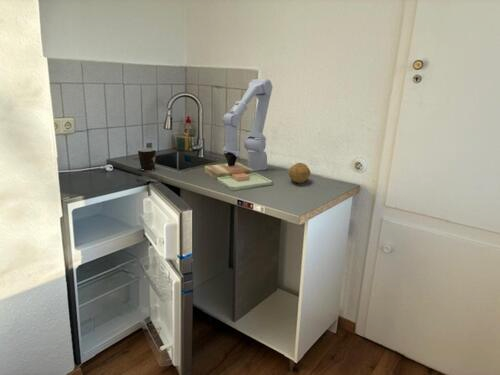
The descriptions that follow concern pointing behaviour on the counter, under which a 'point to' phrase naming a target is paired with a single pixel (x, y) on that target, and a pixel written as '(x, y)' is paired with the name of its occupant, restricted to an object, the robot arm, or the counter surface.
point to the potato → (299, 172)
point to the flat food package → (223, 170)
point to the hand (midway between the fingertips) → (231, 168)
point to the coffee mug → (147, 158)
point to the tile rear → (234, 169)
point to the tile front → (240, 177)
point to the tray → (244, 182)
